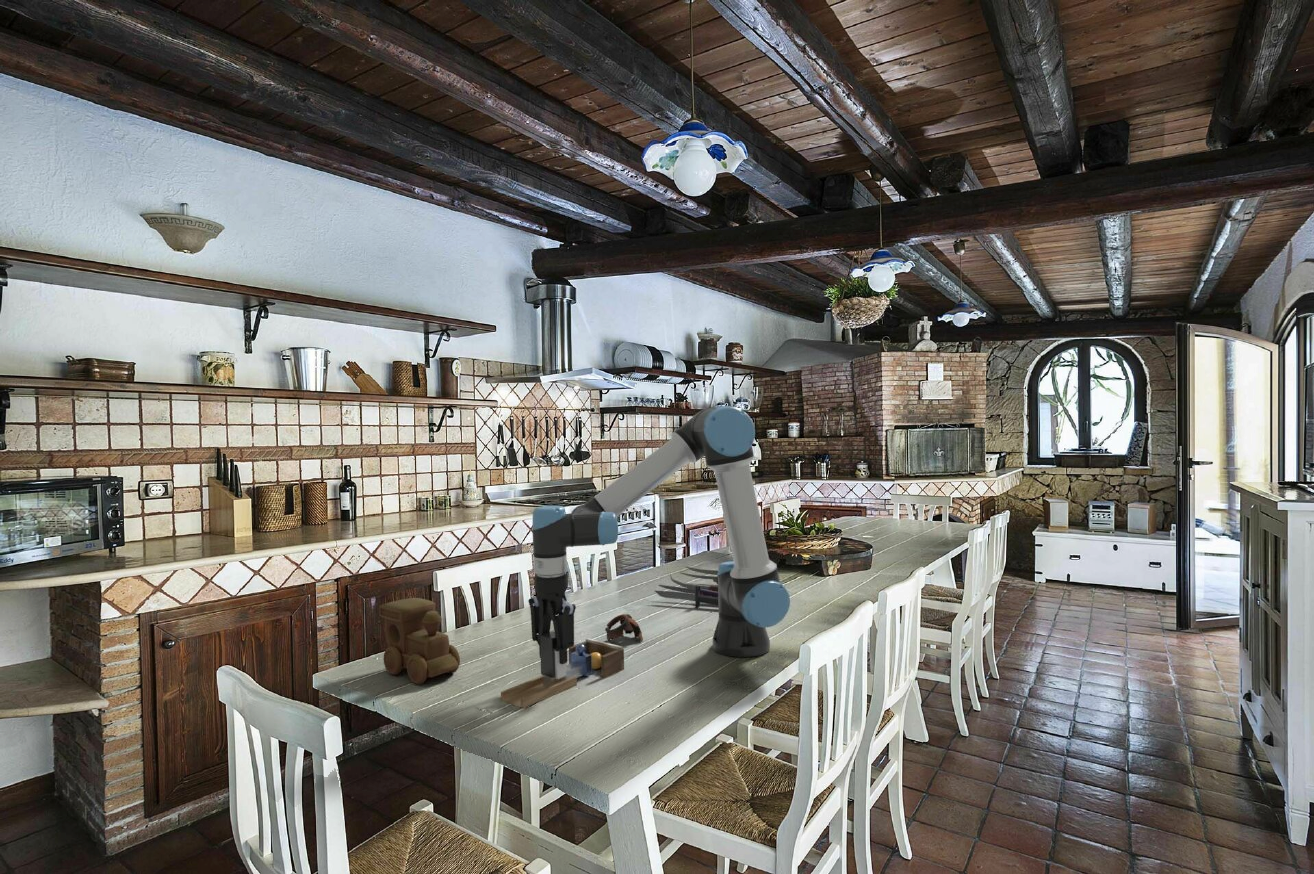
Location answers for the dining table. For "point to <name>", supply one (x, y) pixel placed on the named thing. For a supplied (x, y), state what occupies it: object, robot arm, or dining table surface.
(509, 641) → the dining table surface
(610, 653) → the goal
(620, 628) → the brown curved piece
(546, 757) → the dining table surface
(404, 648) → the wooden toy train
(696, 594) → the knife set
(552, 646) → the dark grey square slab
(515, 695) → the track
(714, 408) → the robot arm
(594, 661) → the ball
